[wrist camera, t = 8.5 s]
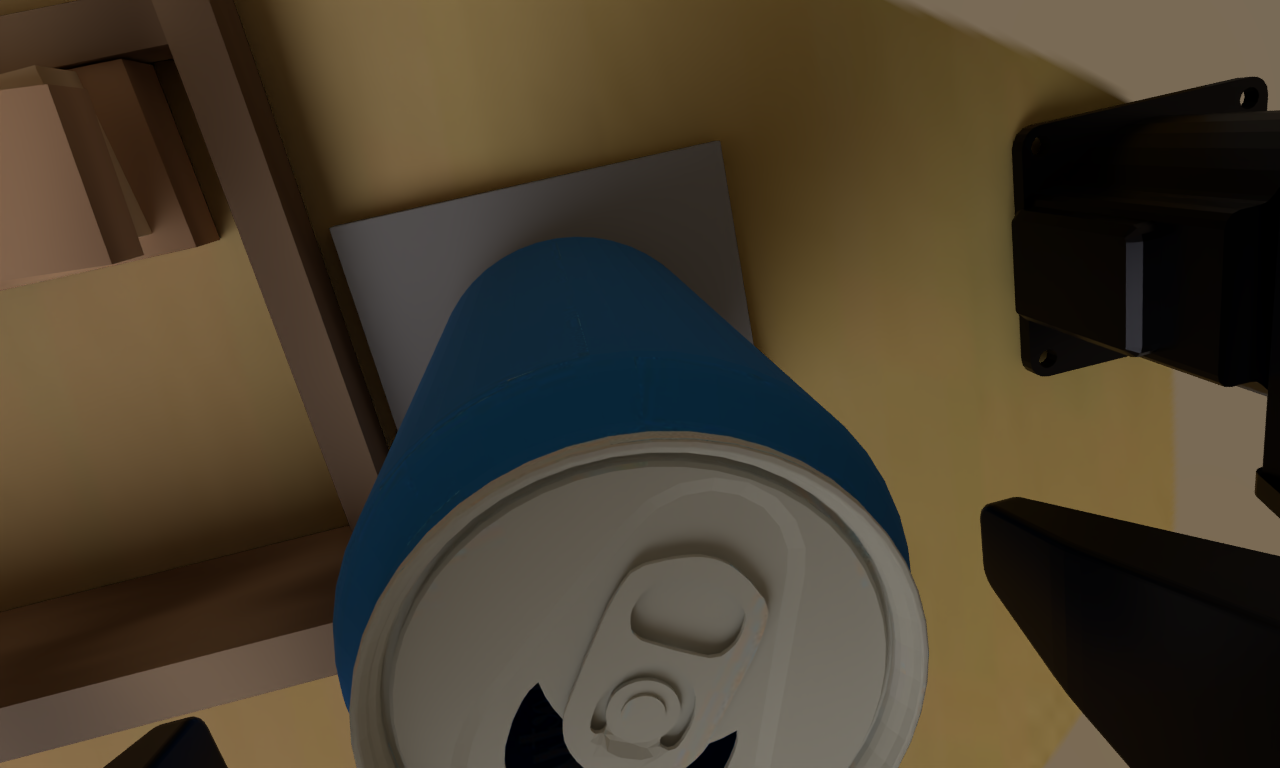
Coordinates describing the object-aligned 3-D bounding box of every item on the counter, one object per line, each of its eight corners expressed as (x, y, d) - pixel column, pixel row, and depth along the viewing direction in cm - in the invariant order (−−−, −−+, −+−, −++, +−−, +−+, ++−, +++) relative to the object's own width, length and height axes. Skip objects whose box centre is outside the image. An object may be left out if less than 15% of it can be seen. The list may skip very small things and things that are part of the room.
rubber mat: (715, 141, 18) (720, 140, 18) (771, 479, 21) (777, 486, 20) (334, 225, 17) (329, 228, 17) (446, 561, 20) (445, 571, 20)
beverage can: (406, 443, 19) (217, 910, 7) (493, 189, 17) (424, 278, 6) (649, 517, 20) (804, 998, 9) (747, 289, 19) (1087, 515, 7)
